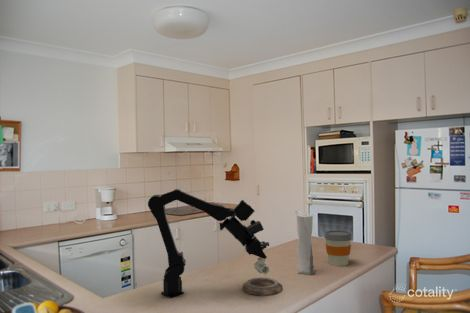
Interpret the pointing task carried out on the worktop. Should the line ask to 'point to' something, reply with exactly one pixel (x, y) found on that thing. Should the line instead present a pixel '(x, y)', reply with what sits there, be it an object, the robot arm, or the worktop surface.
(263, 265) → the valve
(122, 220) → the worktop surface
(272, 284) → the collar base
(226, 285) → the worktop surface
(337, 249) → the reusable coffee cup
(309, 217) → the skyscraper
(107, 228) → the worktop surface
